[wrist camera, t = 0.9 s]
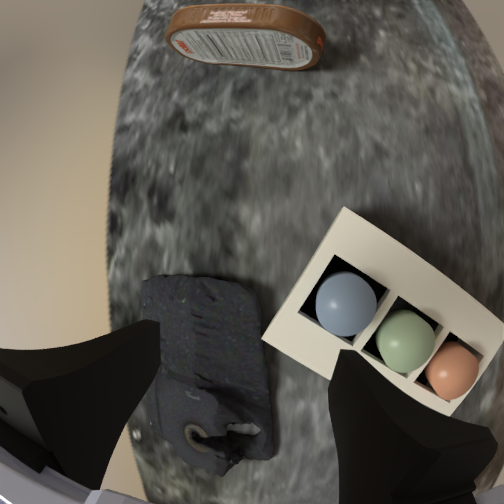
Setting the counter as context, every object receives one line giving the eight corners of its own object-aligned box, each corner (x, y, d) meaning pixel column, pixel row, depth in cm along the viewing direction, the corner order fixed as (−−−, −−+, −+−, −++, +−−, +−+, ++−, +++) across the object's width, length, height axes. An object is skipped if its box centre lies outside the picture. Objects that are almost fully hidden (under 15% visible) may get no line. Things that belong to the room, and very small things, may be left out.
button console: (481, 314, 22) (510, 329, 16) (418, 404, 23) (433, 433, 18) (338, 213, 25) (343, 206, 19) (272, 319, 26) (261, 338, 21)
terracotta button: (472, 353, 18) (486, 364, 16) (445, 391, 19) (456, 406, 16) (444, 332, 19) (457, 344, 16) (415, 373, 20) (425, 388, 17)
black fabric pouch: (287, 278, 26) (280, 287, 22) (273, 463, 27) (265, 490, 23) (139, 268, 30) (112, 273, 25) (154, 437, 31) (136, 456, 26)
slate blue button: (379, 289, 20) (388, 296, 17) (349, 333, 21) (353, 346, 18) (335, 260, 21) (337, 263, 18) (305, 306, 21) (303, 316, 19)
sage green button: (431, 324, 19) (445, 334, 17) (402, 366, 20) (411, 381, 17) (394, 299, 20) (405, 307, 17) (365, 343, 21) (370, 357, 18)
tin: (326, 58, 24) (325, 4, 16) (321, 82, 24) (319, 29, 16) (192, 47, 27) (158, 5, 19) (183, 69, 27) (145, 29, 19)
